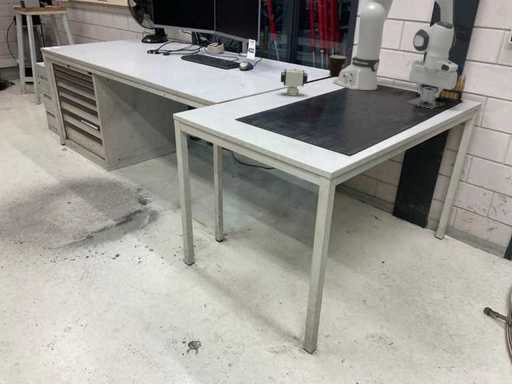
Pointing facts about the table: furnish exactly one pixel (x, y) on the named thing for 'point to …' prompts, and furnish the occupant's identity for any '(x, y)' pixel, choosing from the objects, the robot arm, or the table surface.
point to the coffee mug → (336, 65)
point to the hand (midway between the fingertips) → (428, 95)
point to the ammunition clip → (454, 91)
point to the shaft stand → (425, 103)
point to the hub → (428, 94)
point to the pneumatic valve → (293, 80)
